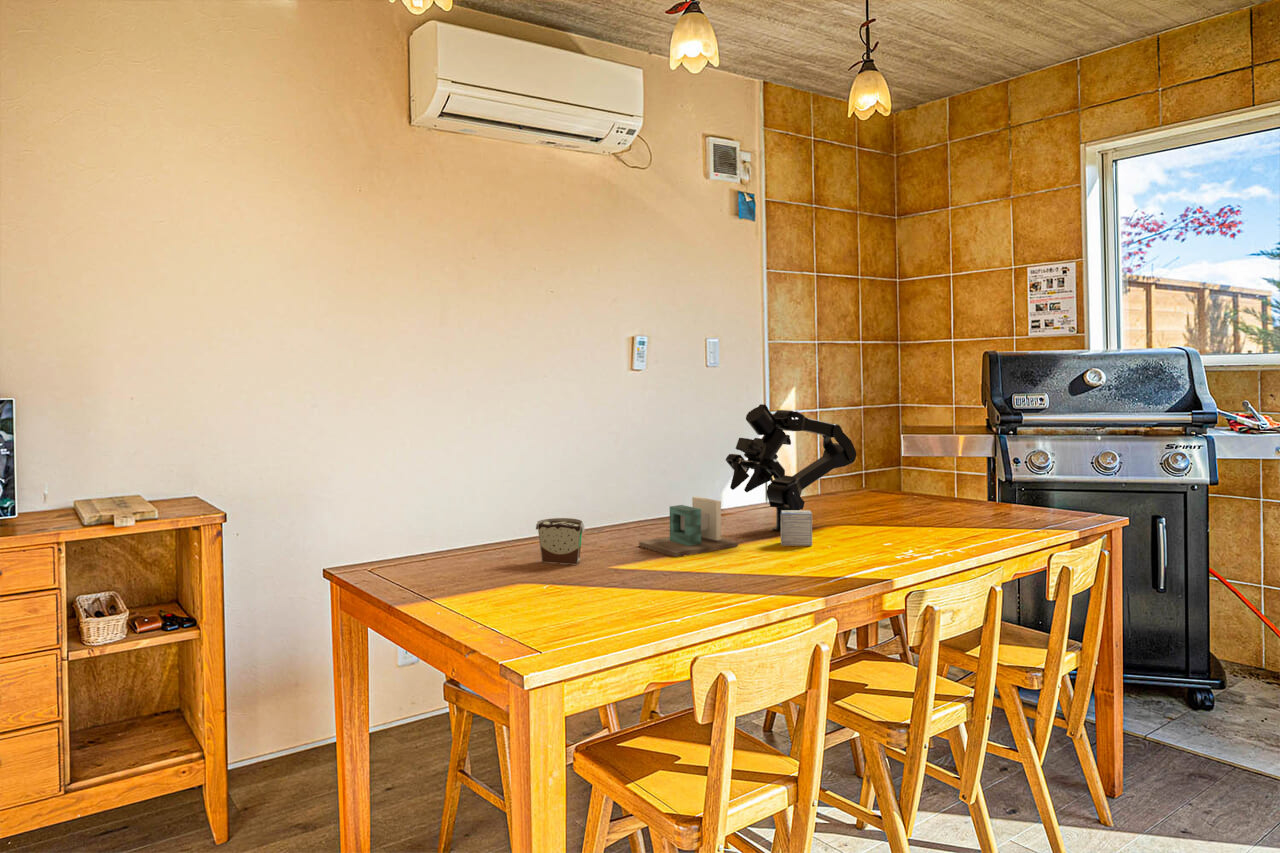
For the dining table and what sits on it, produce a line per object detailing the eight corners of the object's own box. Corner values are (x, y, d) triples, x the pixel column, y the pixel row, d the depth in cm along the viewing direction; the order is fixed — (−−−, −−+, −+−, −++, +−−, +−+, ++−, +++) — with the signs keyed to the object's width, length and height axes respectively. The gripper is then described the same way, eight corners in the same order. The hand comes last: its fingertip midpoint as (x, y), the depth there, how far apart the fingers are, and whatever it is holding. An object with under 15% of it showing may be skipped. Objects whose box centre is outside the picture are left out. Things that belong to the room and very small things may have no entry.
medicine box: (810, 542, 224) (810, 510, 223) (812, 546, 219) (812, 513, 219) (780, 542, 224) (780, 509, 224) (781, 546, 220) (781, 512, 219)
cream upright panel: (696, 533, 229) (696, 496, 228) (721, 539, 220) (720, 501, 220) (673, 537, 224) (673, 499, 223) (697, 543, 216) (697, 504, 215)
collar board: (699, 536, 233) (699, 499, 232) (738, 546, 220) (738, 507, 219) (639, 546, 222) (638, 507, 221) (676, 557, 209) (675, 516, 208)
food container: (593, 559, 207) (592, 519, 206) (583, 565, 201) (582, 523, 200) (547, 556, 211) (546, 516, 210) (536, 562, 205) (535, 521, 205)
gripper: (730, 425, 239) (699, 467, 233) (777, 429, 223) (745, 474, 218) (751, 451, 244) (722, 493, 238) (798, 456, 228) (768, 501, 223)
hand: (738, 490), depth 229 cm, fingers open, 5 cm apart
